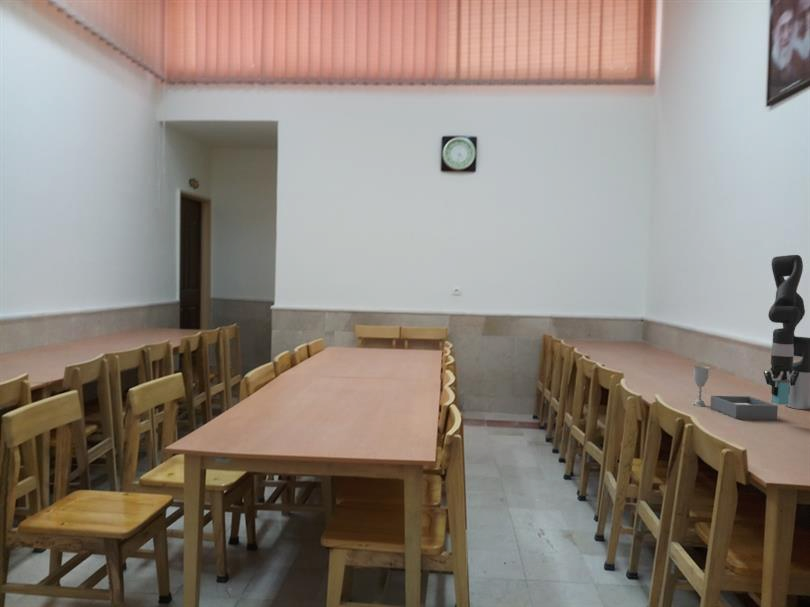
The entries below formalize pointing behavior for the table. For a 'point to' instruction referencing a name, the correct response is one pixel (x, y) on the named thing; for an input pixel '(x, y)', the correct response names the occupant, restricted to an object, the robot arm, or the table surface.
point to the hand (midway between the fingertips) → (780, 395)
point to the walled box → (744, 407)
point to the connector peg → (782, 392)
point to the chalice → (700, 381)
